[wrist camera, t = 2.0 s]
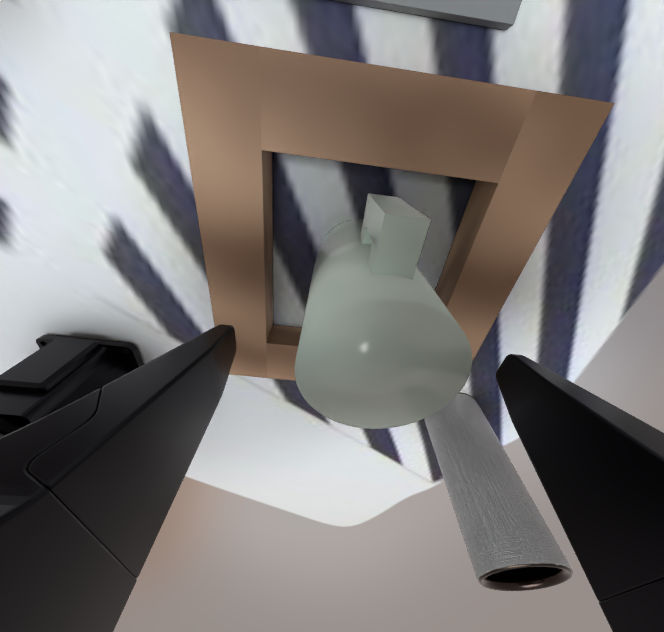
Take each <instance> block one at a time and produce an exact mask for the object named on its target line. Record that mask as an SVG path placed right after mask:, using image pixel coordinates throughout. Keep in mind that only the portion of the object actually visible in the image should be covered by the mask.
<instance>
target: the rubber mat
mask: <svg viewBox="0 0 664 632" xmlns="http://www.w3.org/2000/svg"><path fill="white" fill-rule="evenodd" d="M333 1H339V2H345V3H351V4H357V5H362V6H368V7H374V8H380V9H386V10H392V11H397V12H403V13H409V14H415V15H421V16H427V17H432V18H438V19H444V20H450V21H456V22H462V23H467V24H473V25H479V26H485V27H491V28H497V29H502V30H507V29H508V28H509V27H511V26H512V25H514V22H515V19H516V16H517V13H518V10H519V7H520V4H521V1H522V0H333Z"/></svg>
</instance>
